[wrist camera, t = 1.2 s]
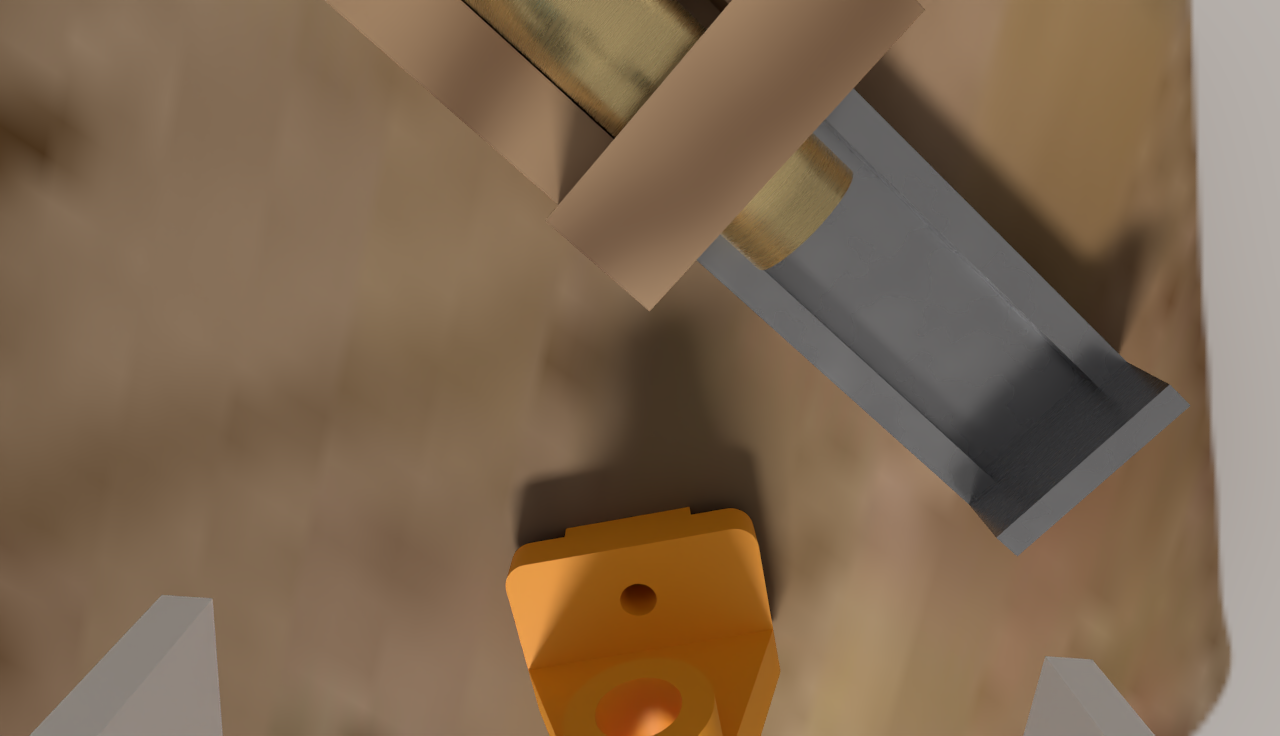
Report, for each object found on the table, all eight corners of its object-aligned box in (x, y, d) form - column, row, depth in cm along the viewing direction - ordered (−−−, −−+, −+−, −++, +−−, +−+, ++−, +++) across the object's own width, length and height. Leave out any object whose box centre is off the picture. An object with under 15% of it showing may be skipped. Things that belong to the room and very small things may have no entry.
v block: (680, 238, 34) (686, 260, 29) (826, 76, 32) (858, 71, 27) (968, 498, 37) (1017, 556, 32) (1115, 364, 35) (1190, 405, 30)
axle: (459, -30, 28) (409, -26, 25) (537, -146, 27) (497, -162, 23) (758, 245, 31) (756, 287, 27) (847, 157, 29) (859, 189, 25)
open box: (364, 6, 31) (251, -35, 22) (555, -255, 29) (515, -422, 20) (647, 256, 34) (649, 311, 25) (843, 37, 31) (925, 9, 22)
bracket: (747, 495, 37) (794, 670, 26) (771, 634, 39) (824, 852, 28) (510, 537, 38) (453, 725, 26) (546, 672, 40) (508, 900, 28)
